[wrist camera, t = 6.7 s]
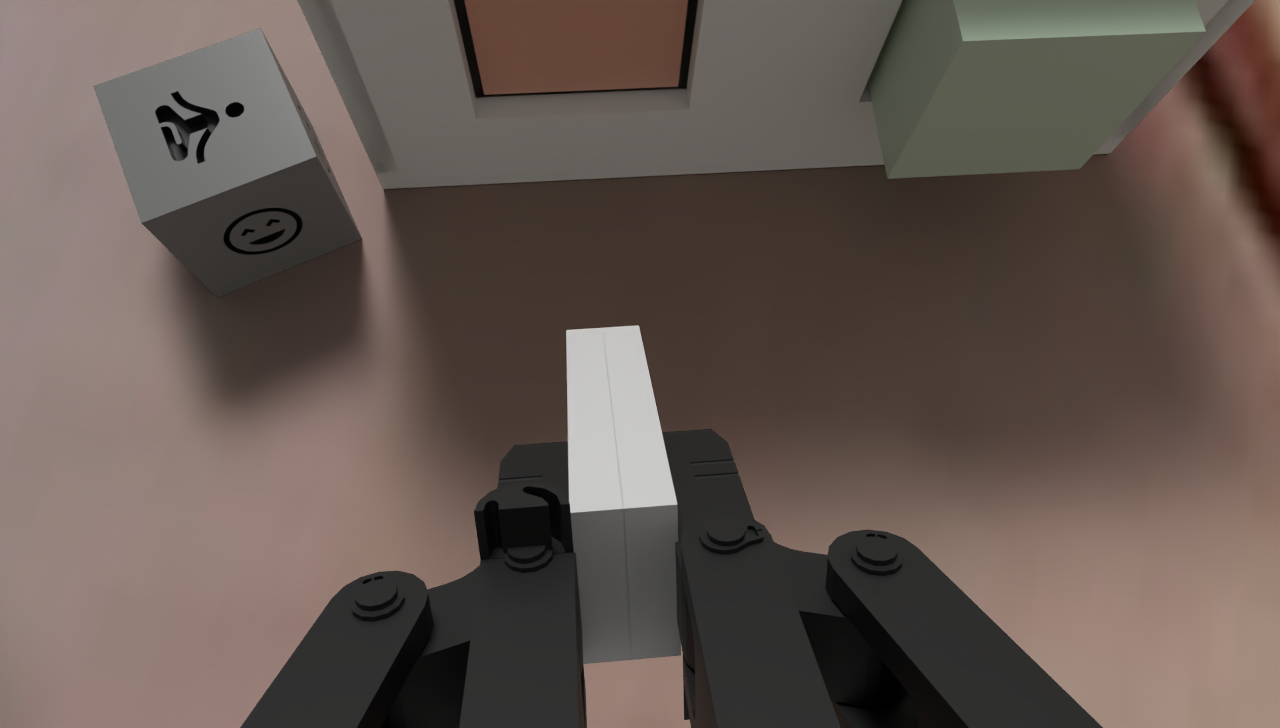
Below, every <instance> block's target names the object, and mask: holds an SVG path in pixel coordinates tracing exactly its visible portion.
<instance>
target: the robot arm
mask: <svg viewBox="0 0 1280 728" xmlns="http://www.w3.org/2000/svg"><path fill="white" fill-rule="evenodd" d="M566 345H567V407H568V441H567V442H554V443H540V444H526V445H514V446H513V448H512V449H511V450H510V451H509V452H508V453H507V455H506V456H505V457H504V458H503V459H502V461H501V463H500V472H499V482H498V489H496V490H493V491H491V492H489V493H488V494H487V495H486V496H485V497H483V498H482V499H481V500H480V501H479V502H478V504H477V506H476V508H475V510H474V515H475V522H476V529H477V537H478V544H479V551H480V558H481V562H480V566H478V567H477V568H476V569H475V570H474V571H473V572H471V573H469V574H467V575H466V576H464V577H462V578H461V579H458V580H455V581H453V582H450V583H448V584H444V585H441V586H438V587H434V588H431V589H428V590H427V588H426V586H425V583H424V582H423V581H422V580H421V579H419V578H418V577H416V576H415V575H414V574H410V573H405V572H401V571H386V572H377V573H374V574H370V575H367V576H363V577H360V578H358V579H357V580H355V581H353V582H351V583H349V584H348V585H346V586H344V587H343V588H342V589H341V590H340V591H339V592H338V593H337V594H336V595H335V596H334V597H333V598H332V599H331V600H330V602H329V603H328V605H327V606H326V607H325V609H324V610H323V612H322V613H321V615H320V616H319V617H318V619H317V620H316V622H315V623H314V624H313V626H312V627H311V629H310V630H309V631H308V633H307V634H306V636H305V637H304V639H303V640H302V641H301V643H300V644H299V646H298V647H297V648H296V650H295V651H294V653H293V654H292V655H291V657H290V658H289V660H288V661H287V663H286V664H285V665H284V667H283V668H282V670H281V671H280V672H279V674H278V675H277V677H276V678H275V679H274V681H273V682H272V684H271V685H270V687H269V688H268V689H267V691H266V692H265V694H264V695H263V696H262V698H261V699H260V701H259V702H258V703H257V705H256V706H255V708H254V709H253V711H252V712H251V713H250V715H249V716H248V718H247V719H246V720H245V722H244V723H243V725H242V726H241V727H240V728H587V717H586V691H585V679H584V667H583V664H587V663H599V662H610V661H621V660H633V659H644V658H655V657H666V656H678V655H681V645H682V651H683V681H684V720H688V719H690V723H691V728H1103V727H1102V726H1101V725H1100V724H1098V723H1097V722H1096V721H1095V720H1094V719H1093V718H1092V717H1091V716H1090V715H1089V714H1088V713H1087V712H1086V711H1085V710H1084V709H1083V708H1082V707H1081V706H1080V705H1079V704H1078V703H1077V702H1076V701H1075V700H1074V699H1073V698H1072V697H1071V696H1070V695H1069V694H1068V693H1067V692H1066V691H1065V690H1063V689H1062V688H1061V687H1060V686H1059V685H1058V684H1057V683H1056V682H1055V681H1054V680H1053V679H1052V678H1051V677H1050V676H1049V675H1048V674H1047V673H1046V672H1045V671H1044V670H1043V669H1042V668H1041V667H1040V666H1039V665H1038V664H1037V663H1036V662H1035V661H1034V660H1033V659H1032V658H1031V657H1030V656H1028V655H1027V654H1026V653H1025V652H1024V651H1023V650H1022V649H1021V648H1020V647H1019V646H1018V645H1017V644H1016V643H1015V642H1014V641H1013V640H1012V639H1011V638H1010V637H1009V636H1008V635H1007V634H1006V633H1005V632H1004V631H1003V630H1002V629H1001V628H1000V627H999V626H998V625H997V624H996V623H994V622H993V621H992V620H991V619H990V618H989V617H988V616H987V615H986V614H985V613H984V612H983V611H982V610H981V609H980V608H979V607H978V606H977V605H976V604H975V603H974V602H973V601H972V600H971V599H970V598H969V597H968V596H967V595H966V594H965V593H964V592H963V591H962V590H961V589H959V588H958V587H957V586H956V585H955V584H954V583H953V582H952V581H951V580H950V579H949V578H948V577H947V576H946V575H945V574H944V573H943V572H942V571H941V570H940V569H939V568H938V567H937V566H936V565H935V564H934V563H933V562H932V561H931V560H930V559H929V558H928V557H927V556H926V555H924V554H923V553H922V552H921V551H920V550H919V549H918V548H917V547H916V546H914V545H913V544H911V543H910V542H909V541H907V540H906V539H904V538H902V537H899V536H896V535H894V534H891V533H888V532H882V531H874V530H861V531H852V532H849V533H847V534H844V535H842V536H839V537H837V538H836V539H835V540H834V542H833V543H832V544H831V545H830V546H829V551H828V555H824V554H816V553H809V552H802V551H798V550H793V549H789V548H787V547H784V546H781V545H779V544H777V543H775V542H773V539H772V537H771V535H770V533H769V532H768V531H767V529H766V528H765V526H764V525H762V524H760V523H759V522H757V521H755V520H754V517H753V514H752V512H751V509H750V506H749V503H748V500H747V497H746V494H745V491H744V489H743V486H742V483H741V480H740V477H739V476H738V471H737V468H736V465H735V463H734V462H733V457H732V454H731V451H730V448H729V445H728V442H726V441H725V440H724V439H723V438H721V437H720V436H719V435H718V434H717V433H715V432H714V431H713V430H712V429H704V430H690V431H676V432H663V433H662V430H661V426H660V421H659V417H658V412H657V407H656V403H655V398H654V393H653V389H652V384H651V379H650V375H649V370H648V365H647V361H646V356H645V352H644V347H643V342H642V338H641V333H640V328H639V325H636V326H621V327H605V328H590V329H575V330H566ZM680 640H681V642H680Z"/></svg>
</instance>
